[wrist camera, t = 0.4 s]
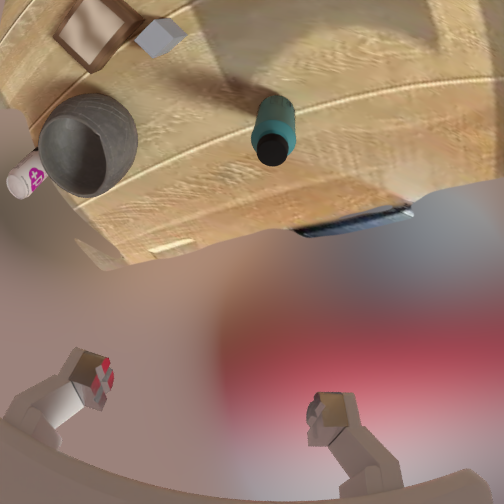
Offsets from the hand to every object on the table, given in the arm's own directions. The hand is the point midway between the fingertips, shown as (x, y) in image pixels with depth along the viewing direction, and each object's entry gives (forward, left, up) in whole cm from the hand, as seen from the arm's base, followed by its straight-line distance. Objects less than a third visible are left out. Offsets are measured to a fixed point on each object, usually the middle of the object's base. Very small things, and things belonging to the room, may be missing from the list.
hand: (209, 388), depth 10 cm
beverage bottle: (+3, +5, -50) cm, 51 cm away
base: (+17, -32, -50) cm, 62 cm away
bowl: (+33, -15, -50) cm, 62 cm away
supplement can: (+53, -24, -50) cm, 77 cm away
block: (+9, -19, -50) cm, 54 cm away
